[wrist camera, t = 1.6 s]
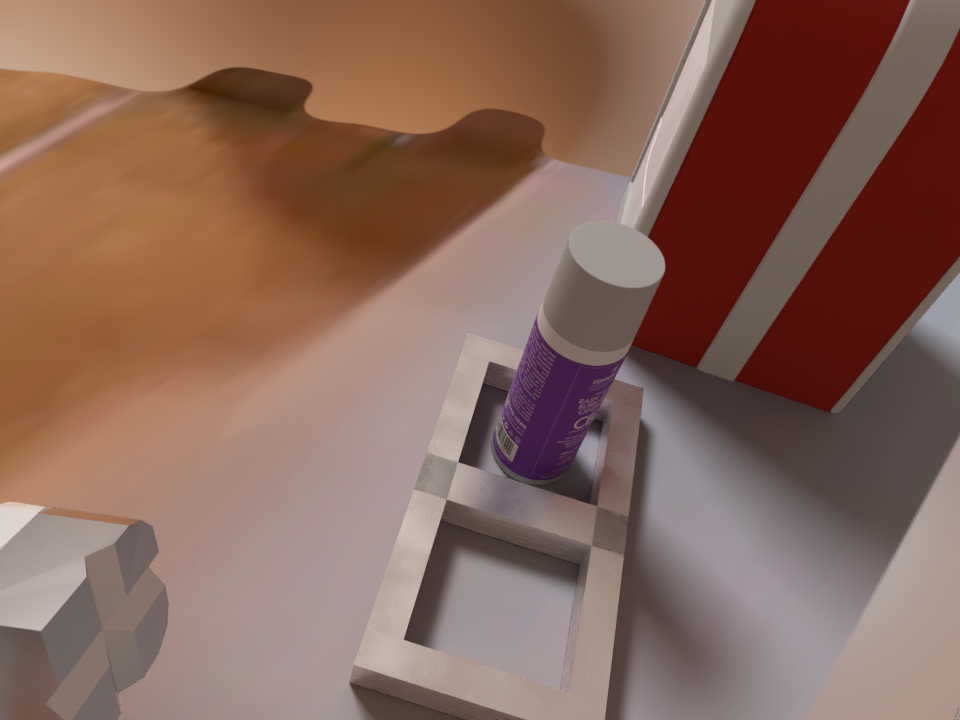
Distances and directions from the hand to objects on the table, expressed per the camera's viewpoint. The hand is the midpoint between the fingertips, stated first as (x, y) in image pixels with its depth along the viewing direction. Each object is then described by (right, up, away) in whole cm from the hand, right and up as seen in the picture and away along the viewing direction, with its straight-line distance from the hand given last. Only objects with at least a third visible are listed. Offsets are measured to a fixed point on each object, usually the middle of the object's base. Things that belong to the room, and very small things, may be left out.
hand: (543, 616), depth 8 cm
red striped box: (+17, +7, +52) cm, 55 cm away
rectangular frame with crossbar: (+1, -6, +35) cm, 36 cm away
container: (+2, -3, +39) cm, 39 cm away
